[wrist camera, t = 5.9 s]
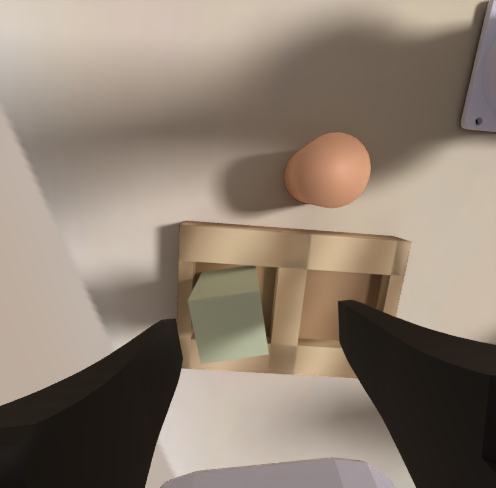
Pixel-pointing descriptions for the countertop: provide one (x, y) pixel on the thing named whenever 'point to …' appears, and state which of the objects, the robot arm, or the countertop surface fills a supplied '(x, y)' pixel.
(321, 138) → the terracotta dowel
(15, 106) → the countertop surface
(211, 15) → the countertop surface
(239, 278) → the sage cube
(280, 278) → the pocket board
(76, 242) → the countertop surface
